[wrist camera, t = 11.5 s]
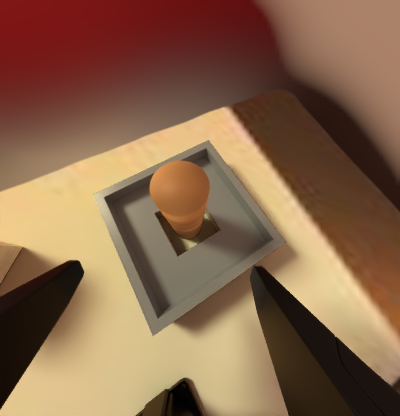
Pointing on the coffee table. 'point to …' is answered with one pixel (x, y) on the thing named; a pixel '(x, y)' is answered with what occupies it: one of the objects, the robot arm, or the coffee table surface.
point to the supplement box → (7, 257)
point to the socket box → (196, 256)
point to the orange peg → (181, 196)
